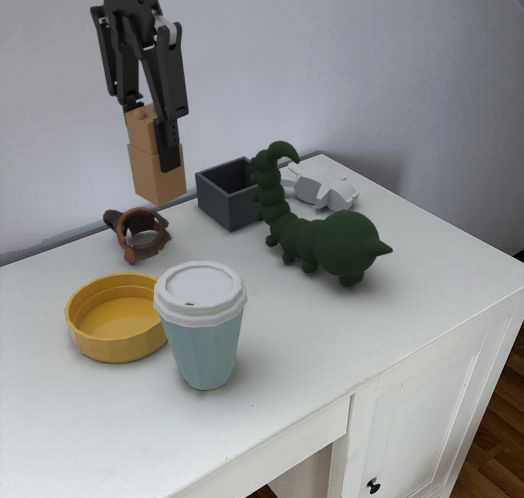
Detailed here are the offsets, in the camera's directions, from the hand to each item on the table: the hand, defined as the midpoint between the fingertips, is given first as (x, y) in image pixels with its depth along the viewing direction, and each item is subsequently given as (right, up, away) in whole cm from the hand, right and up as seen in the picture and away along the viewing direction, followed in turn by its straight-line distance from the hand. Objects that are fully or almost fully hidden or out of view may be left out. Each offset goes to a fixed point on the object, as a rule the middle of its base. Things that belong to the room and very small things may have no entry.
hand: (156, 161), depth 74 cm
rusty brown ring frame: (-6, -8, +19) cm, 22 cm away
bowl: (-5, -22, +5) cm, 23 cm away
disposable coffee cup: (+7, -28, -1) cm, 29 cm away
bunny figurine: (+24, +3, +29) cm, 38 cm away
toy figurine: (+22, -12, +15) cm, 29 cm away
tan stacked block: (0, -3, +3) cm, 5 cm away
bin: (+10, 0, +27) cm, 29 cm away
